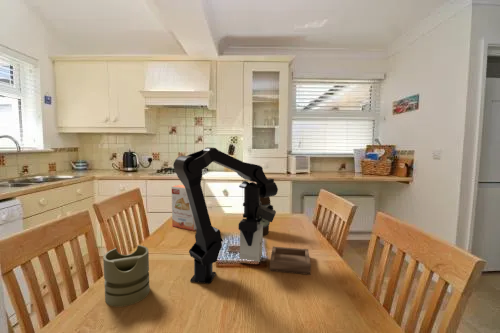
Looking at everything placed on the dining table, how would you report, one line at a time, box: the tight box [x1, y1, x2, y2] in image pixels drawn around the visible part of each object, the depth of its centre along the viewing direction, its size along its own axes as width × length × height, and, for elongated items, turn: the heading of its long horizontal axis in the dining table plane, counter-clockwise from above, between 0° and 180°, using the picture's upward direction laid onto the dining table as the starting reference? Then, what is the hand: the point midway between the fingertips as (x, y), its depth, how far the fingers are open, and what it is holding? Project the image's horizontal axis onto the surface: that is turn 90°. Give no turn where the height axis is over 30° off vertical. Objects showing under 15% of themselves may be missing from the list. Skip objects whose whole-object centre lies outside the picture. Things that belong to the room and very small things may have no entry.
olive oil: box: [255, 182, 271, 237], centre depth 122 cm, size 11×11×25 cm
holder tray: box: [269, 246, 312, 275], centre depth 92 cm, size 13×13×3 cm
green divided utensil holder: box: [102, 244, 150, 308], centre depth 72 cm, size 11×12×11 cm
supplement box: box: [239, 224, 264, 263], centre depth 94 cm, size 7×7×13 cm
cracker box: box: [171, 184, 197, 232], centre depth 129 cm, size 14×6×21 cm, turn 62°
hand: (251, 241), depth 94 cm, fingers closed on supplement box, 7 cm apart
